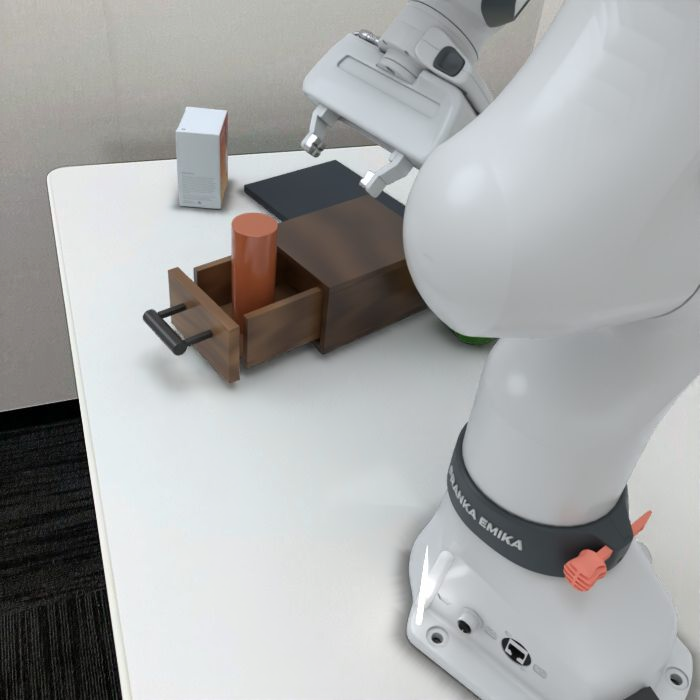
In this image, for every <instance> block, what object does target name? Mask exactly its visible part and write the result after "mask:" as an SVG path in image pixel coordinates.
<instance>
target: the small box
mask: <svg viewBox="0 0 700 700" xmlns="http://www.w3.org/2000/svg"><path fill="white" fill-rule="evenodd" d="M228 119H229V111H228V110H225V109H216V108H208V107H207V108H206V107H195V106H186V107H185V109H184V112H183V115H182V117H181V119H180V122H179V124H178V126H177V128H176V129H175V131H174V134H175V152H176V153H175V154H176V173H177V174H176V175H177V191H178V204H179V206H180V207H191V208H203V209H204V208H205V209H215V210H221V209H222V207H223V201H224V198H225V194H226V190H227V187H228V183H229V146H228V145H229V120H228Z"/></svg>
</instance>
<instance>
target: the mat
mask: <svg viewBox="0 0 700 700" xmlns="http://www.w3.org/2000/svg"><path fill="white" fill-rule="evenodd" d="M363 178H364V177H363V176H361V175H360V174H358V173H357V172H355V171H354V170H352V169H351V168H349V167H348V166H346V165H344V164H343V163H342V162H340V161H338V160H337V159H332V160H329V161H326V162H322V163H318V164H315V165H311V166H308V167H304V168H301V169H297V170H293V171H289V172H286V173H282V174H279V175H276V176H272V177H267V178H264V179H261V180H257V181H254V182H251V183H247V184H244V186H243V192H244V193H245V194H246V195H248V196H249V197H250V198H252V199H253V200H254V201H255V202H257V203H258V204H259V205H261V206H262V207H263V208H264V209H266V210H267V211H268V212H270V213H271V214H272V215H273V216H274V217H276V218H277V219H279V220H280V221H281V222H284V221H287V220H290V219H293V218H296V217H299V216H303V215H306V214H309V213H312V212H315V211H318V210H321V209H324V208H328V207H331V206H334V205H337V204H340V203H343V202H346V201H350V200H353V199H356V198H359V197H362V196H365V195H369V194H368V193H366V192H365V191H364V190H363V189H362V188H361V187H360V186H359V183H360V181H361V179H363ZM370 196H371V195H370ZM371 197H372V196H371ZM373 198H374V197H373ZM374 199H376V200H377V201H378V202H380V203H381V204H383V205H384V206H386V207H387V208H389V209H390V210H392V211H393V212H395V213H396V214H398V215H399V216H401V217H402V218H404V211H405V206H406V204H403V203H402V202H401V201H399V200H398V199H396V198H394V197H393V196H391V195H390V194H388V193H387V192H385V191H384V190H382V192H381V193H380V194H379V196H378V197H376V198H374Z"/></svg>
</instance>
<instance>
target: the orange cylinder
mask: <svg viewBox="0 0 700 700" xmlns="http://www.w3.org/2000/svg"><path fill="white" fill-rule="evenodd" d="M277 223H278V222H277V220H276V219H275V218H274V217H272V216H271V215H268V214H266V213H263V212H244V213H241V214H238V215H236V216H235V217H234V218H233V219H232V220H231V224H230V226H231V228H230V231H231V232H230V235H231V236H230V238H231V243H230V245H231V246H230V247H231V249H230V253H231V254H230V255H231V270H232V319H233V320H234V321H235V322H236V323H237V324H238V325H239V326H240V333H241V334H243V315H244V314H247V313H249V312H252V311H255V310H257V309H260V308H262V307H265V306H268V305H270V304H273V303H275V285H276V260H277V235H278V224H277Z"/></svg>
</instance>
